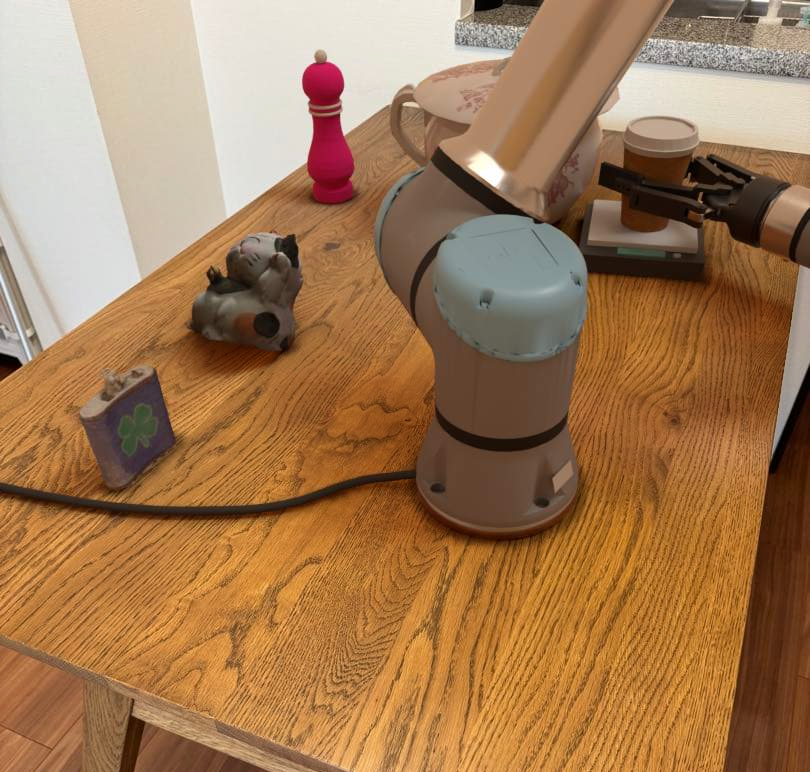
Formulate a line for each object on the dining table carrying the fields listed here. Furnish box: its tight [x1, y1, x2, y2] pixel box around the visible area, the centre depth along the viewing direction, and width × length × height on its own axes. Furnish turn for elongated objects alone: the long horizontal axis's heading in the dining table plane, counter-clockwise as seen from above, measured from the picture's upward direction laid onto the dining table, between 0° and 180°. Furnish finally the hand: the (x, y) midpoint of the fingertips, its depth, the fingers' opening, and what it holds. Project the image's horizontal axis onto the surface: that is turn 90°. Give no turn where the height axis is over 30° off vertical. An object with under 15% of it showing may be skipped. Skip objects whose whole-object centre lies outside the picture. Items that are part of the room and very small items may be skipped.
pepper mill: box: [301, 48, 356, 204], centre depth 115 cm, size 7×7×20 cm
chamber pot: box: [388, 56, 621, 226], centre depth 109 cm, size 28×28×21 cm
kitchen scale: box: [578, 199, 706, 282], centre depth 106 cm, size 16×16×3 cm
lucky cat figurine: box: [186, 229, 305, 352], centre depth 90 cm, size 15×12×14 cm
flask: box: [78, 364, 177, 493], centre depth 74 cm, size 9×3×11 cm, turn 151°
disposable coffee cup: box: [620, 115, 701, 232], centre depth 101 cm, size 10×10×12 cm
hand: (625, 163), depth 104 cm, fingers open, 9 cm apart
